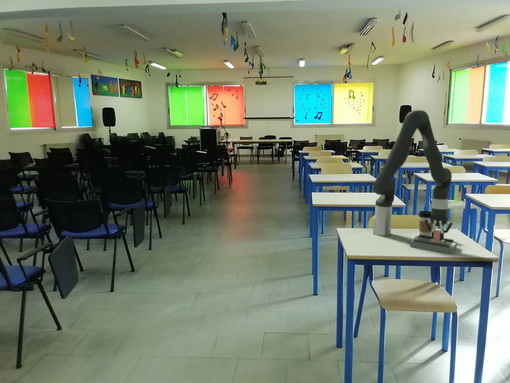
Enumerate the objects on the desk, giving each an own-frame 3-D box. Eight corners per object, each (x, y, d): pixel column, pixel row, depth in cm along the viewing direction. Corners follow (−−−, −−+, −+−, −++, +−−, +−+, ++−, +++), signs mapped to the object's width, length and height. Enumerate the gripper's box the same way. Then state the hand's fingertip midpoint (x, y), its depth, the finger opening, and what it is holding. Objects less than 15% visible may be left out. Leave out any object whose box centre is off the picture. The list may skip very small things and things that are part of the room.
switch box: (410, 246, 204) (410, 239, 203) (416, 241, 213) (416, 233, 212) (451, 254, 192) (452, 246, 191) (456, 247, 201) (457, 239, 200)
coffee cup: (425, 240, 214) (426, 214, 212) (413, 236, 222) (415, 210, 219) (436, 238, 217) (438, 212, 215) (424, 234, 225) (426, 209, 222)
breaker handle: (429, 242, 200) (430, 231, 199) (432, 239, 205) (433, 228, 204) (441, 244, 196) (442, 233, 195) (444, 241, 202) (445, 230, 201)
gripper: (423, 206, 199) (421, 238, 202) (453, 210, 190) (450, 243, 193) (426, 204, 204) (424, 235, 208) (456, 207, 196) (453, 239, 199)
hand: (437, 239), depth 200 cm, fingers closed on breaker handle, 3 cm apart
